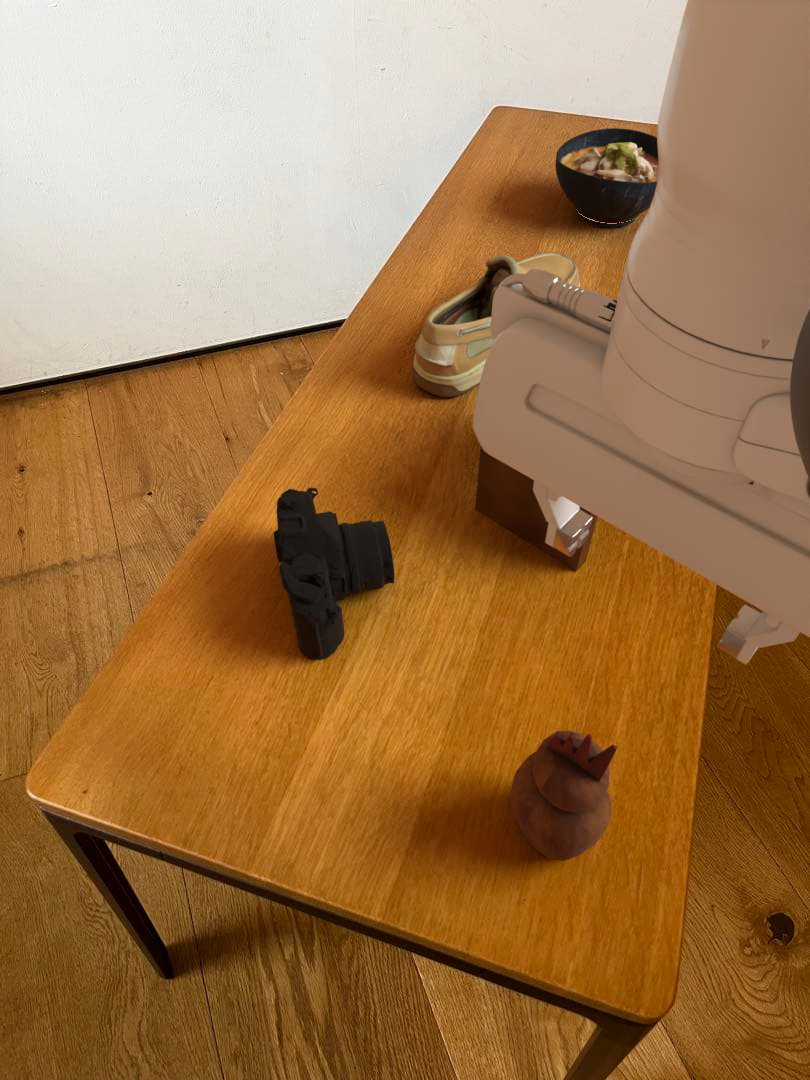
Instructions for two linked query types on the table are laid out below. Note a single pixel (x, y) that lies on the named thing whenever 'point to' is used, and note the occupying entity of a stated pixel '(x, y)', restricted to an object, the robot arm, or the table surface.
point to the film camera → (326, 567)
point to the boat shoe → (472, 326)
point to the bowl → (609, 174)
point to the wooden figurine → (563, 795)
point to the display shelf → (520, 507)
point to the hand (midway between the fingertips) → (647, 592)
